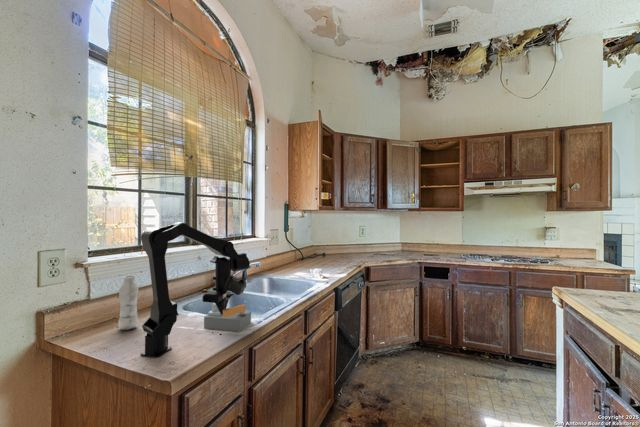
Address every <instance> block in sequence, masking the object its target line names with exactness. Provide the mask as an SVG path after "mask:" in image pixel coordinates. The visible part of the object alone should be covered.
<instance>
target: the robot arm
mask: <svg viewBox="0 0 640 427" xmlns="http://www.w3.org/2000/svg"><path fill="white" fill-rule="evenodd" d="M178 237H184V238H186V239H189V240H190V241H193V242H195V243H197V244H200V245H203V246H205V247H206V248H207V249H208V250H209V251H211V252H212V253H213V254H215V256H213V258H212V259H210V261H209V262H210V263H212V264H215V265H214V266H215V272H214V273H215V274H214V276H213V277H212V280H214V282H215V283H214V284H215V285H214V287H212V290H210V291H207V292H205V293H204V294H203V295H202V298H201V299H202V302H203V303H211V304H213V303H215V304H216V306H217V307H218V309H219V311H220V313H221V314H223V310H224V309H226V308H228V303H229V300H230V299H231V298H232V297H233V296H235V295H236V296H240V295H241V294H243V293H244V291H245V289H247V281H246V279H245V278H240V280H238V279H237V280H236V279H235V278H234V277H235V276H234V275H233V274H232V272H234V273H235V272H241V271H246V270H247V271H248V270H249V268H250V264H251V263H250V262H251V261H250V259H249V257H248V256H247V253H245V252H241V253H238V252H237V250H236V249H235V246H234V243H233V242H232V241H229V240H225V239H220V238H217V237H216V238H215V237H213V236H211V235H209V234H207V233H205V232H203V231H200V230H198V229H196V228H194V227H193V226H190V225H188V224H187V223H185V222H175V223H172V224H170V225H165V226H161V227H158V228H147V229H146V230H144V231H143V232H142V233H141V234H140V241H141V244H142V247H143V251H145V253H146V255H147V257H148V263H149V271H150V272H149V273H150V280H151V281H150V282H151V289H152V290H151V291H152V299H153V300H152V301H153V302H152V304H151V306H150V315H149V317H148V318H147V319H146V320H145V322H144V323H143V324H142V326H141V327H142V330H143V332H144V333H146V335H145V336H144V351H142V352H141V353H140V356H142V357H150V358H151V357H152V358H159V357H161V356H162V355H164V354H166V353H167V352H169V351H170V350H172V346H169V336H170V334H171V332H172V329H173V326H174V325H175V323H176V322H177V320H178V319H177V318H178V317H179V315H180V314H179V312H178V303H176V302H175V301H173V300H171V299H170V293H169V292H170V290H169V283H168V275H167V266H166V265H167V264H166V253H167V251H168V246H169V242H172V241H174V240H175V239H177V238H178ZM216 255H217V256H216ZM219 256H221V257H219Z"/></svg>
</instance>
